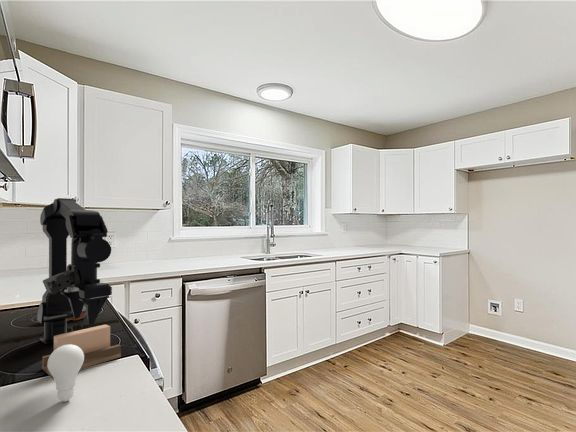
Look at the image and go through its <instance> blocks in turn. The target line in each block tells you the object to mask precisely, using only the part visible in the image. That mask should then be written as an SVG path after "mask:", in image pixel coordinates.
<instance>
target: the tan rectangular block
mask: <svg viewBox="0 0 576 432" xmlns="http://www.w3.org/2000/svg"><path fill="white" fill-rule="evenodd" d="M110 340H111V326H110V325H108V324H102V325H97V326H92V327H88V328H84V329H79V330H74V331H70V332H67V333H65V334H60V335H56V336H54V343H53V351H54V350H56V349H57V348H59V347H61V346H63V345H68V344H72V345H76V346H78V347H79V348H81V350H82V351H83V353H84V354H86V353H89V352H93V351H97V350H100V349H104V348H108V347H110Z"/></svg>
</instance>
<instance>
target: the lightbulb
mask: <svg viewBox="0 0 576 432" xmlns="http://www.w3.org/2000/svg"><path fill="white" fill-rule="evenodd" d="M49 355H50V354H49ZM83 361H84V353H83V351H82V350H81V348H79V347H78V346H76V345H72V344H68V345H63V346H61V347H59V348H57V349H56V350H54V349H53V351H52V352H51V355H50V357H49V359H48V363H47V367H48V370H49V372H50V373H51V375H52V376H53V379H54V381H55V388H56V390H57V399H58V401H60V402H64V403H65V402H67V401H69V400H70V399H72V398H73V397H74V390H75V389H74V387H75V386H76V380H77V376H78V373H79V372H80V370H81V369H80V368H81V366H82V364H83Z"/></svg>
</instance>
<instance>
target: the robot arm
mask: <svg viewBox="0 0 576 432" xmlns="http://www.w3.org/2000/svg"><path fill="white" fill-rule="evenodd" d="M39 219H40V221H39V222H40V225H41V226H42V232H43V234H44V235H45V236H46V237H47V238H48V277H47V278H45V279H43V280H42V283H43V285H44V289H45V292H44V293H43V294H42V297H41V298H42V299H41V302H40V304H39V307H38V310H37V313H36V315H37V316H36V317H37V318H36V319H37V322H39V323H40V324H43V325H44V326H43V328H44V329H43V330H44V331H43V332H44V333H43V337H39V341H41V342H42V343H43V344H45V345H49V344H54V336H56V335H60V334H65V333H68V330H67V329H68V327H67V326H68V321H67V318H73V317H74V318H75V319H77V318H79V317H80V315H81V312H82V309H83V306H84V304H85V307H86V313H87V315H86V318H87V324H88V325H89V326H91V325H94V324H95V322H96V319H97V318H98V316H99V314H100V313H101V310H102V309H103V307H104V305H105V303H106V302H107V300H108V299H109V298H110V296H111V295H112V293H113V286H111V285H110V284H109V283H105V282H101V279H100V278H98V268H101V263H102V262H105V261H106V260H107V259H108V258H110V256H111V253H112V246H111V244H110V243H109V242H108V241H107V239H104V238H107V237H108V232H109V231H108V228H107V226H106V222H105V221H104V218H103V215H101V214H100V212H99V211H97V210H91V209H90V210H88V209H85V208H83V206H81V205H80V204H78V203H77V200H76V199H74V198H65V197H63V198H61V197H58V198H55V199H54V200H53V202H52V203H50V204H49V205H46V206H44V207H43V209H42V211H41V213H40V218H39ZM69 237H70V239H71V244H70V247H71V249H70V254H71V255H70V259H71V260H70V263H69V264H68V265H67V263H68V262H67V260H68V257H67V255H68V254H67V253H68V250H67V249H68V248H67V247H68V246H67V243H68V241H67V239H68V238H69ZM44 316H45V317H44Z"/></svg>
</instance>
